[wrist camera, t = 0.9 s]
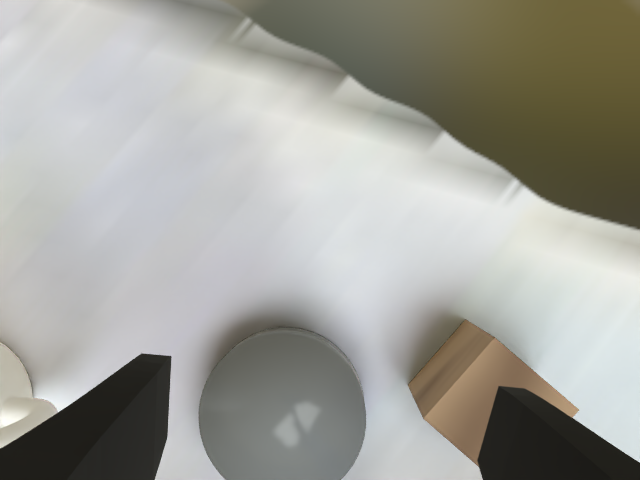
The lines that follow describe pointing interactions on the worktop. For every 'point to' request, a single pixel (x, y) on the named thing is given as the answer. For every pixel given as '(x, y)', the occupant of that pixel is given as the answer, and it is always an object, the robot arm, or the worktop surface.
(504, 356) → the walnut cube
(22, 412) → the mug
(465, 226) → the worktop surface
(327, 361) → the slate pedestal
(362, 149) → the worktop surface
